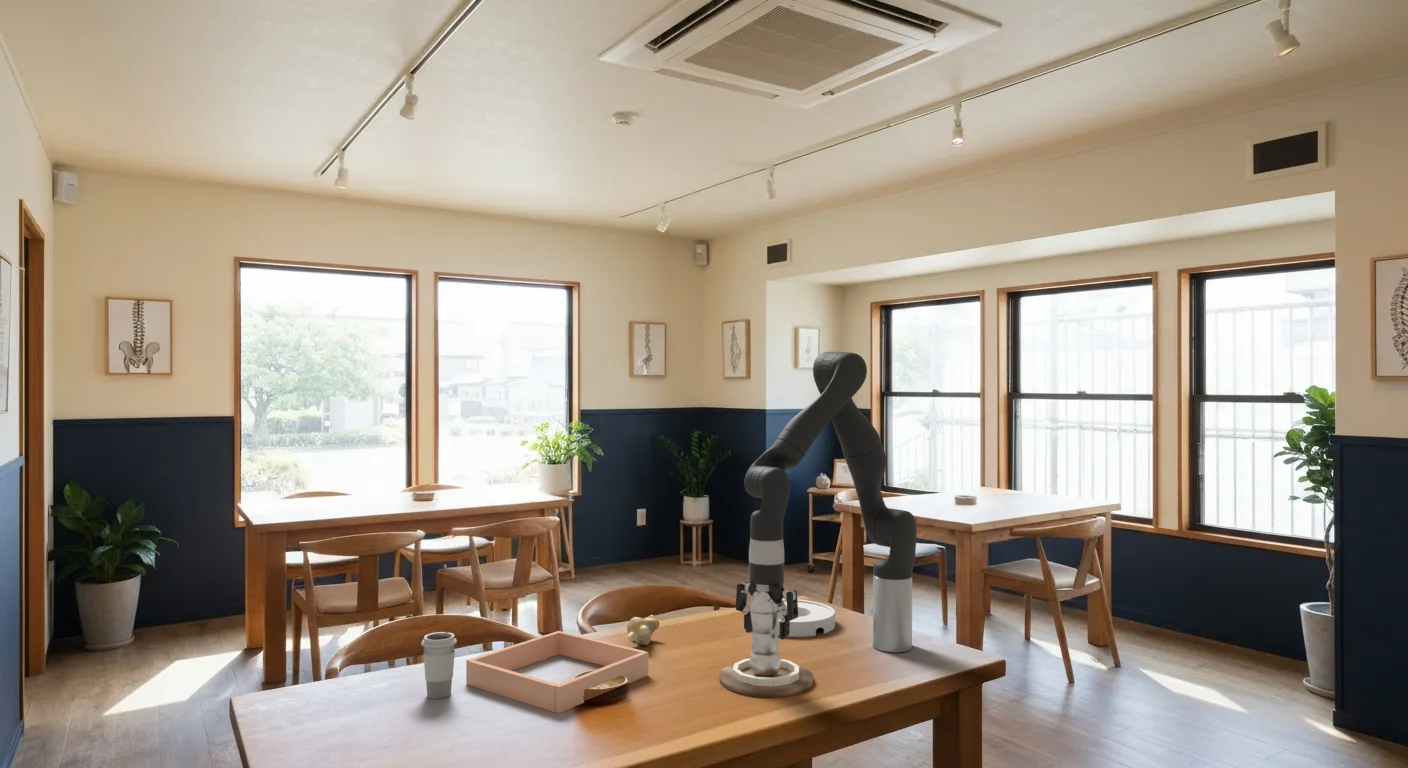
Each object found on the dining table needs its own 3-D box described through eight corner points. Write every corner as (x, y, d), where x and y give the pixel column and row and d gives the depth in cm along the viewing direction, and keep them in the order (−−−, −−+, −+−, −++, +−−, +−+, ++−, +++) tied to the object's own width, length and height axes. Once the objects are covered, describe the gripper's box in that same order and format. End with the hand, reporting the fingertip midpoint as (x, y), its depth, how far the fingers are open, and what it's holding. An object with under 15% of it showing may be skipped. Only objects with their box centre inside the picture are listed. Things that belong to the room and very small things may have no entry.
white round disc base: (741, 635, 225) (741, 619, 225) (751, 611, 248) (751, 597, 248) (834, 640, 222) (834, 624, 222) (835, 615, 245) (835, 601, 244)
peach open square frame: (559, 651, 210) (559, 630, 210) (648, 675, 194) (649, 652, 194) (465, 684, 188) (465, 660, 188) (558, 713, 172) (558, 687, 172)
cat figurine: (658, 613, 223) (649, 611, 211) (664, 641, 221) (655, 641, 209) (626, 621, 223) (615, 620, 212) (633, 650, 221) (622, 651, 210)
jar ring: (756, 660, 201) (756, 653, 201) (810, 672, 193) (810, 665, 193) (720, 677, 190) (720, 670, 190) (777, 690, 181) (777, 683, 181)
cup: (463, 691, 184) (463, 633, 184) (444, 702, 178) (444, 642, 177) (434, 687, 186) (434, 630, 186) (414, 698, 180) (414, 638, 180)
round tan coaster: (752, 659, 205) (752, 654, 205) (829, 677, 193) (829, 671, 193) (700, 683, 189) (700, 678, 189) (782, 704, 177) (782, 698, 177)
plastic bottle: (780, 680, 187) (780, 585, 187) (747, 678, 188) (747, 584, 188) (782, 670, 194) (782, 578, 194) (750, 669, 195) (751, 577, 195)
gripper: (804, 560, 190) (804, 636, 190) (748, 552, 198) (748, 625, 198) (786, 566, 184) (786, 645, 184) (729, 558, 192) (728, 633, 192)
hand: (766, 635), depth 191 cm, fingers open, 8 cm apart
